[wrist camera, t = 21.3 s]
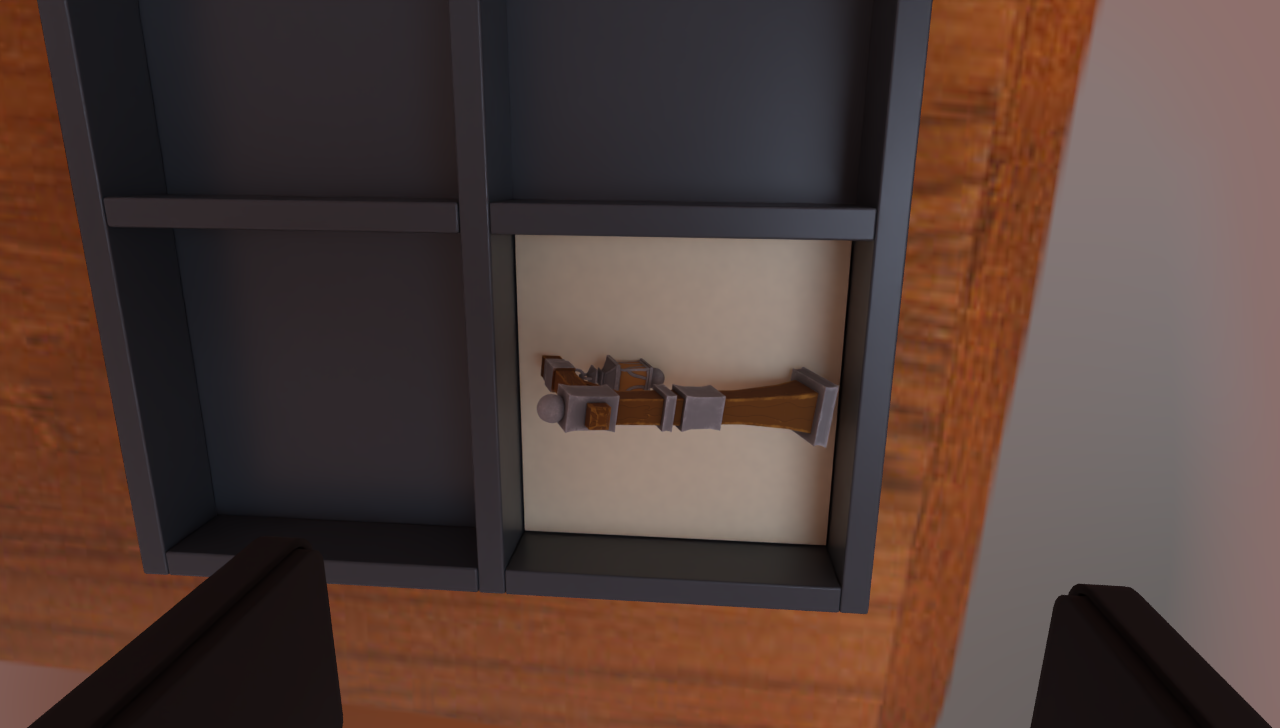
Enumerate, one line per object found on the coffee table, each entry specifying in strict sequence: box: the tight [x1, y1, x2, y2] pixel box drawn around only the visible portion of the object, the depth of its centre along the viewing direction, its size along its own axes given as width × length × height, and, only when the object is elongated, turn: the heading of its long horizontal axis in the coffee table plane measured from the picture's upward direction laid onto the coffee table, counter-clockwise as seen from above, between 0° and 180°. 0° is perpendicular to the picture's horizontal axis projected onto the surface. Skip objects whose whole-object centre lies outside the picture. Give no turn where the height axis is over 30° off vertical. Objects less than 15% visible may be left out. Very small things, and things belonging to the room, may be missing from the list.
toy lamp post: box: [537, 355, 839, 448], centre depth 20 cm, size 2×8×4 cm, turn 83°
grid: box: [37, 0, 933, 614], centre depth 20 cm, size 22×22×3 cm
